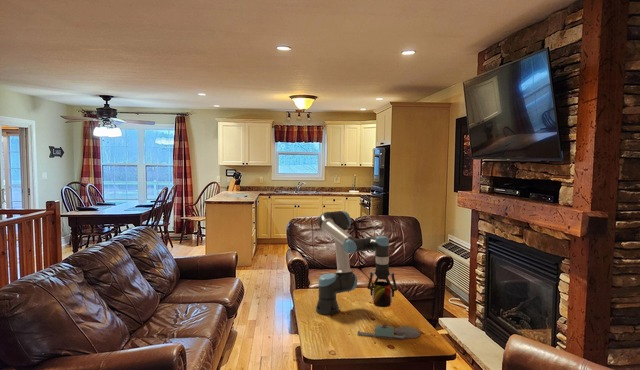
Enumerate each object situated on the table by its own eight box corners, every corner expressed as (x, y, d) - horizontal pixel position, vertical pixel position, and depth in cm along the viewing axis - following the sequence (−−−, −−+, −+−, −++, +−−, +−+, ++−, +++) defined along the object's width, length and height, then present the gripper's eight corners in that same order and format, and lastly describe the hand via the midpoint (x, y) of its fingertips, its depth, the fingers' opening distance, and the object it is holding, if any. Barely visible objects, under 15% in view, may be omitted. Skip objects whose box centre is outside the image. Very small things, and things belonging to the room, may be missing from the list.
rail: (358, 333, 213) (358, 330, 213) (405, 338, 207) (405, 335, 207) (357, 335, 210) (357, 332, 210) (405, 339, 205) (405, 337, 205)
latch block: (375, 332, 211) (375, 323, 211) (393, 333, 209) (393, 324, 209) (374, 335, 207) (374, 326, 207) (393, 337, 205) (393, 327, 205)
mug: (385, 298, 227) (385, 279, 226) (392, 306, 213) (392, 285, 213) (369, 299, 226) (369, 279, 225) (376, 307, 212) (376, 286, 211)
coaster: (394, 326, 222) (394, 325, 222) (419, 329, 219) (419, 327, 219) (394, 337, 208) (394, 335, 208) (420, 339, 205) (420, 338, 205)
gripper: (362, 263, 216) (362, 302, 217) (401, 265, 211) (401, 305, 212) (363, 260, 224) (363, 298, 224) (402, 262, 218) (402, 300, 219)
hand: (382, 301), depth 218 cm, fingers closed on mug, 10 cm apart
